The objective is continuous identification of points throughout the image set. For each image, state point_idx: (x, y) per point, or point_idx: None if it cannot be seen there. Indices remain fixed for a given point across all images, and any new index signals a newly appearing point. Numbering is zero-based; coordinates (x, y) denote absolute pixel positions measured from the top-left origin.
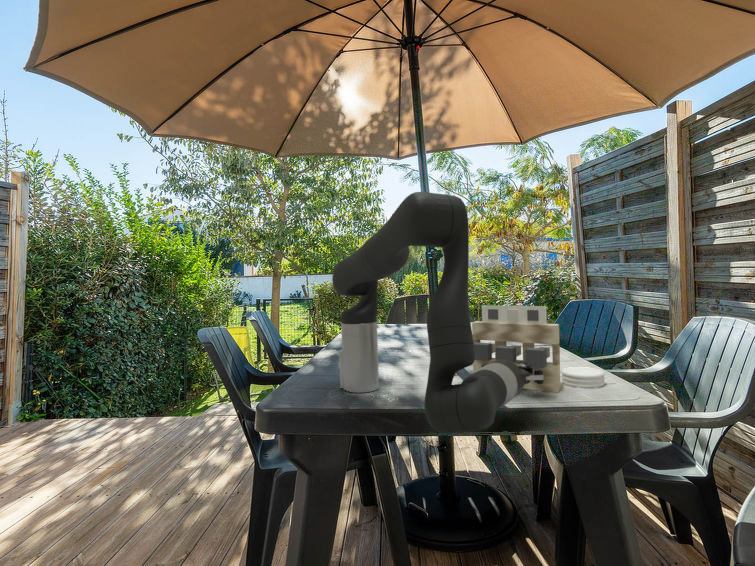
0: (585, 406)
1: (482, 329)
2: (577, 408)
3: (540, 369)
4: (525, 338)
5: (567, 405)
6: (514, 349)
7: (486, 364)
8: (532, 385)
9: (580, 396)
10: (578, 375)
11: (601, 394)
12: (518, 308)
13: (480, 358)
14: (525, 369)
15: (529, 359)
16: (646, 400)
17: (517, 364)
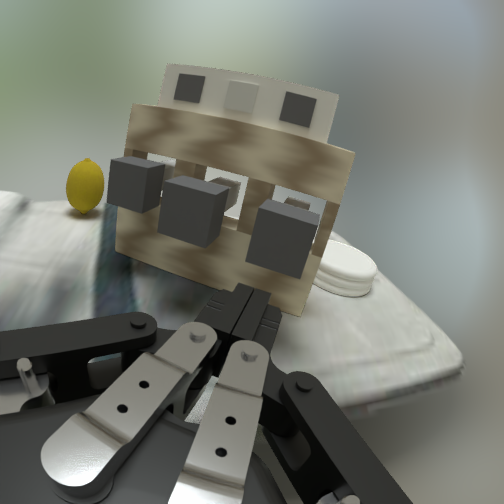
0: (374, 396)
1: (152, 124)
2: (361, 413)
3: (392, 479)
4: (260, 167)
5: (335, 395)
6: (222, 197)
7: (17, 329)
8: None
9: (348, 336)
10: (342, 271)
11: (379, 325)
12: (262, 82)
13: (125, 202)
14: (267, 403)
15: (263, 242)
16: (445, 347)
17: (222, 416)
